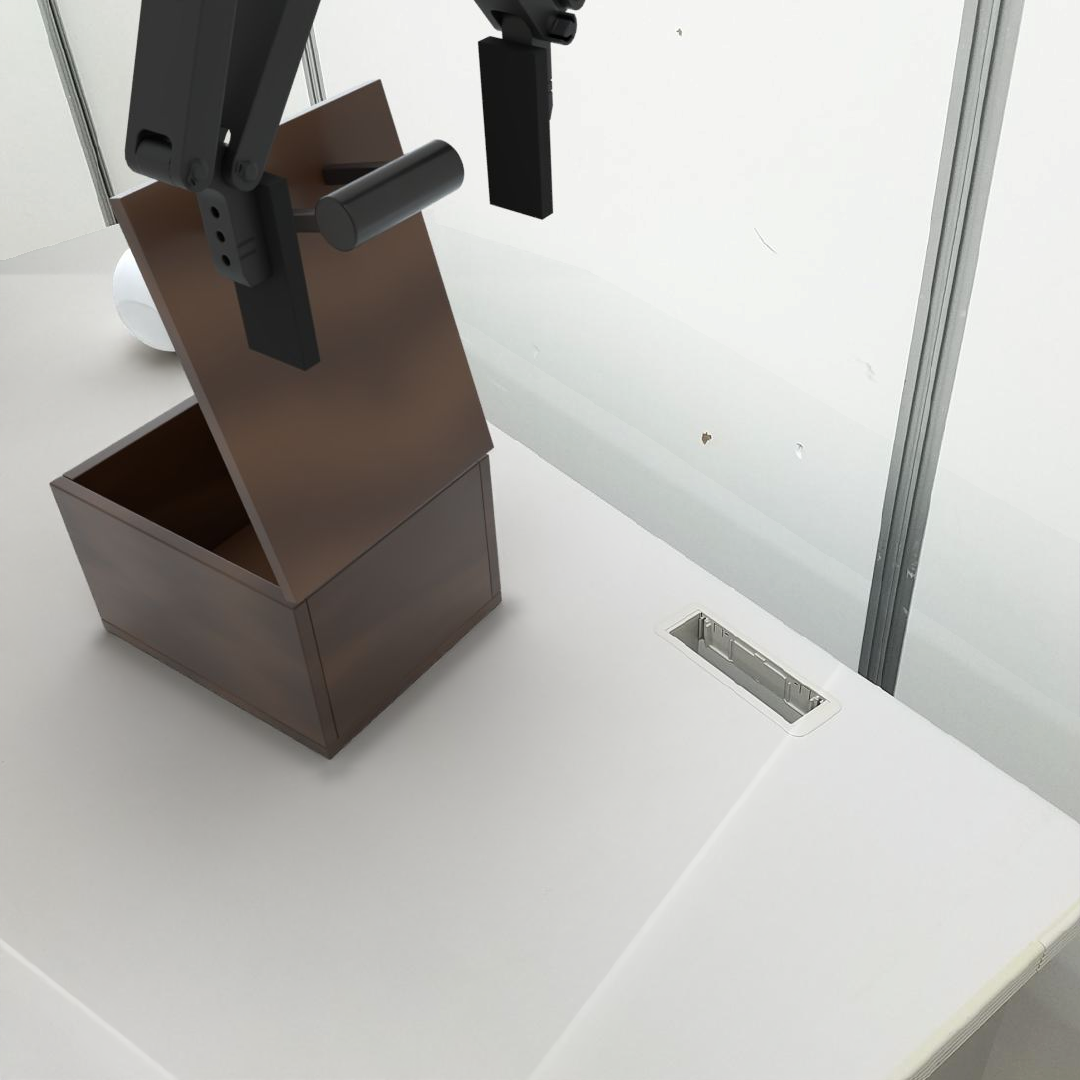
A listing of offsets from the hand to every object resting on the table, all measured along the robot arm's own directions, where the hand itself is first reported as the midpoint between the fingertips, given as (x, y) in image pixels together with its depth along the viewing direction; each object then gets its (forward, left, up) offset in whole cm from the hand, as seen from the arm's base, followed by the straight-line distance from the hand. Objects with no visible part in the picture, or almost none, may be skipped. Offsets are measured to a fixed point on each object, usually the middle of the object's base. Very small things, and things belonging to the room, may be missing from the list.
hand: (413, 276), depth 47 cm
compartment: (-11, 0, -23) cm, 26 cm away
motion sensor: (-39, +16, -23) cm, 48 cm away
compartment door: (-5, 0, -5) cm, 7 cm away
